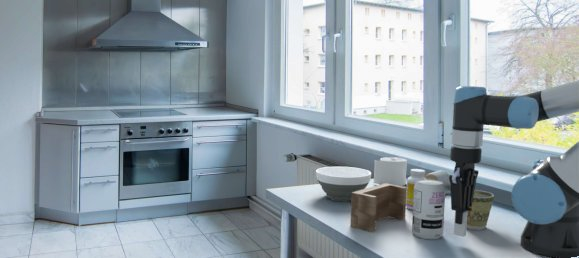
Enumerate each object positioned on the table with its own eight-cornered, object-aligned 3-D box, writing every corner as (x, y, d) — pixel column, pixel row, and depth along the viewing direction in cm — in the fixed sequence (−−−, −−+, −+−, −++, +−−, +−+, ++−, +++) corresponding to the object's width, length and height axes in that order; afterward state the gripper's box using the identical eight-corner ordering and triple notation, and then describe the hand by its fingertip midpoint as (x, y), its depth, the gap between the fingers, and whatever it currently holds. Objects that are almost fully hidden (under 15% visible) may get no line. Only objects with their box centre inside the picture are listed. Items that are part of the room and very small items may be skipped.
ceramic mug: (421, 190, 191) (422, 170, 190) (433, 187, 196) (434, 168, 195) (445, 196, 182) (446, 176, 181) (457, 193, 188) (459, 173, 187)
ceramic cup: (478, 234, 139) (481, 199, 138) (448, 224, 147) (450, 191, 146) (504, 226, 147) (506, 193, 145) (474, 218, 155) (476, 186, 153)
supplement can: (419, 228, 143) (422, 177, 141) (447, 235, 137) (450, 182, 136) (406, 235, 136) (409, 182, 135) (435, 242, 131) (438, 186, 130)
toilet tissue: (410, 183, 201) (411, 159, 200) (395, 188, 193) (396, 163, 191) (387, 179, 209) (388, 156, 207) (372, 184, 200) (373, 159, 199)
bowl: (312, 191, 186) (313, 166, 184) (364, 191, 186) (365, 166, 185) (317, 205, 166) (318, 177, 165) (375, 205, 167) (376, 177, 166)
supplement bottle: (426, 211, 161) (429, 172, 159) (405, 210, 162) (407, 171, 160) (425, 206, 167) (427, 168, 166) (405, 205, 168) (407, 167, 167)
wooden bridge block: (405, 219, 152) (406, 187, 150) (372, 232, 138) (373, 197, 137) (384, 214, 157) (385, 183, 156) (350, 226, 144) (351, 192, 142)
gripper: (462, 142, 135) (456, 226, 138) (441, 146, 125) (434, 236, 128) (490, 145, 130) (483, 232, 133) (470, 150, 120) (463, 244, 123)
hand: (459, 234), depth 130 cm, fingers closed
